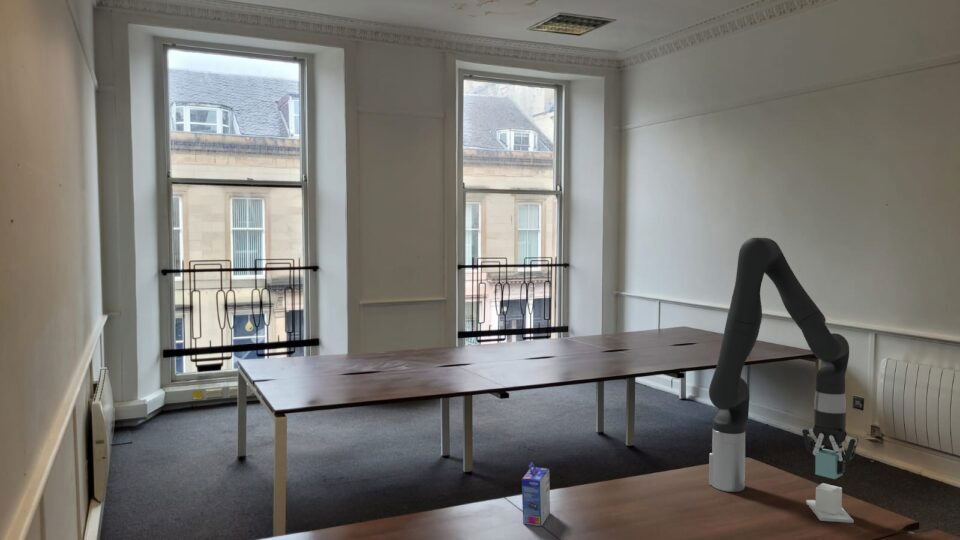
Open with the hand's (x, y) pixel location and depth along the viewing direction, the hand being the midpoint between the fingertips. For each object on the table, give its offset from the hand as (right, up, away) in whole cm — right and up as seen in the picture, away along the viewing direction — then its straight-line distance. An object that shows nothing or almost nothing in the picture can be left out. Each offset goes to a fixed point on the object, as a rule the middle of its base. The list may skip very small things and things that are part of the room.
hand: (829, 470), depth 182 cm
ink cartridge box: (-79, -12, -2) cm, 80 cm away
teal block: (0, -1, 0) cm, 1 cm away
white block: (0, -11, +1) cm, 11 cm away
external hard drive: (+1, -13, +1) cm, 13 cm away
